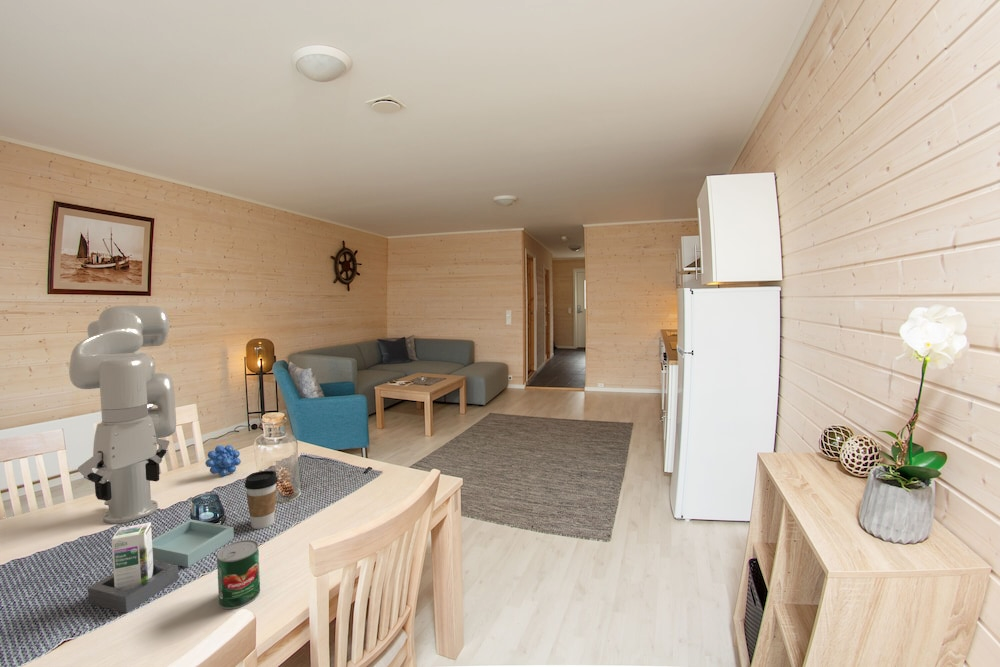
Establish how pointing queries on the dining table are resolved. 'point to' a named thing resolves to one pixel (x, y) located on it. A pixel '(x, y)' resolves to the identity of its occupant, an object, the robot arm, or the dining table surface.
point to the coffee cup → (261, 498)
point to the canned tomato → (238, 574)
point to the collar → (128, 600)
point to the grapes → (223, 460)
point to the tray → (190, 542)
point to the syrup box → (132, 556)
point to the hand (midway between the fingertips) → (129, 489)
